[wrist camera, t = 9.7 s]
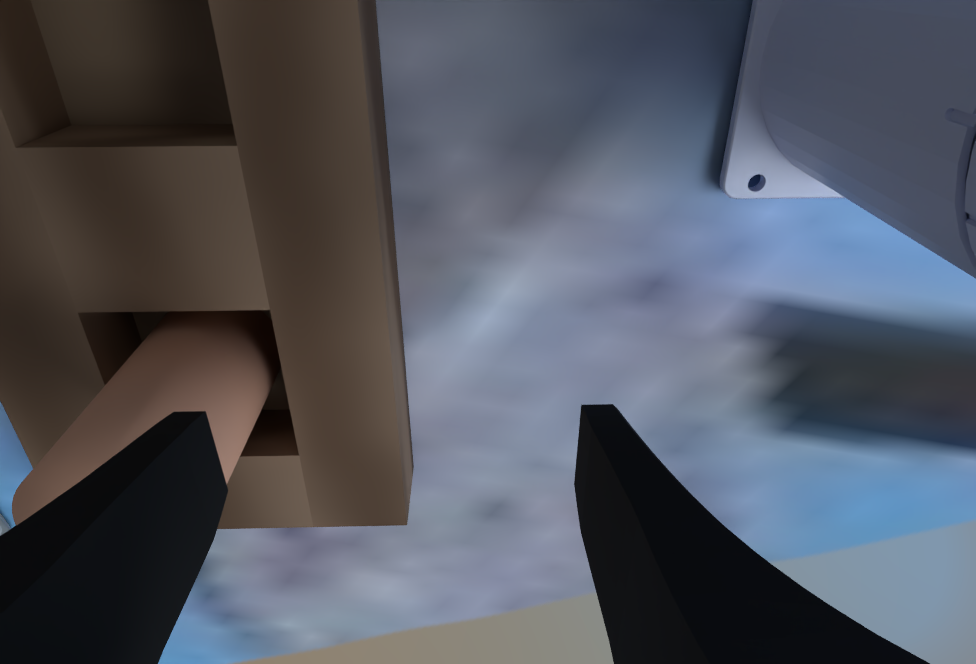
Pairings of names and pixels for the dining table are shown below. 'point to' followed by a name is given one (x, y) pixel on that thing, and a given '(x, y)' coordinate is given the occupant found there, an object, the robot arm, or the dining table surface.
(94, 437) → the pin
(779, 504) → the dining table surface
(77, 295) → the bore board
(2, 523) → the skincare box
